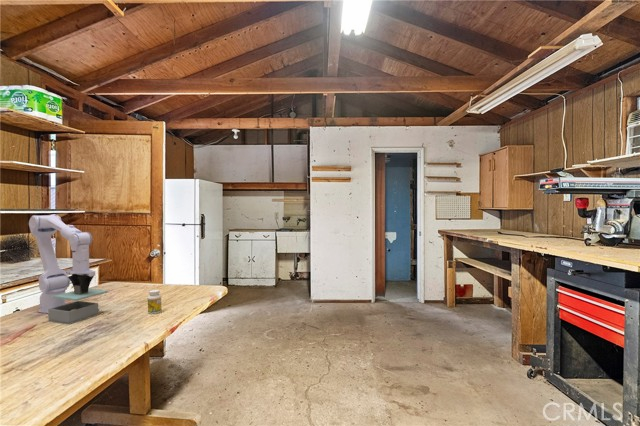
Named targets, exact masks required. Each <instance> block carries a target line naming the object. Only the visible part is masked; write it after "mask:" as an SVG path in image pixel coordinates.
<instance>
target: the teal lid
mask: <svg viewBox="0 0 640 426" xmlns="http://www.w3.org/2000/svg"><path fill="white" fill-rule="evenodd" d="M73 290H74V291H69V292H65V293H64V294H60V295H55V296H53V298H57V299H65V300H67V301H72V302H76V301H82V300H86V299H88V298H91V297H96V296H100V295H102V294H107V293H109V290H105V289H97V288H90V287H89V288H88V292H84V293H82V292H81V285H80V284H79V285H75V286H74V287H73Z"/></svg>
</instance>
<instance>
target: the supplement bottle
mask: <svg viewBox="0 0 640 426" xmlns="http://www.w3.org/2000/svg"><path fill="white" fill-rule="evenodd" d="M148 294H149V295H148V297H147V313H148V314H149V315H155V314H160V313H161V312H162V295H161V294H160V289H152V290H149V292H148Z"/></svg>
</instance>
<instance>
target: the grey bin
mask: <svg viewBox="0 0 640 426" xmlns="http://www.w3.org/2000/svg"><path fill="white" fill-rule="evenodd" d="M72 309H76V310H73V311H71V310H72ZM47 315H48V322H52V323H58V324H64V325H71V324H74V323H78V322H81V321H83V320H87V319H90V318H92V317H95V316H98V315H99V302H91V301H83V300H78V301H72V302H70V303H66V304H65V305H62V306H58V307H54V308H51V309H48V313H47Z"/></svg>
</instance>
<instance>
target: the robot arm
mask: <svg viewBox="0 0 640 426" xmlns="http://www.w3.org/2000/svg"><path fill="white" fill-rule="evenodd" d="M28 226H29V230H30V234H31V236H33V237H35V242H36V245H37V246H36V247H37V250H38V253H39V256H40V260H41V264H42V267H43V271H44V272H43V273H42V274H41V275H40V276H39V277H38V288H39V290H40V292H41V295H40V296H39V310H37V313H42V314H48V309H51V308H54V307H58V306H62V305H65V304H67V303H66V300H65V299H57V298H53V296H55V295H60V294H64V293H66V290H68V288H69V287H70V286H71V284H72V286H73V288H74V286H75V285H79V284H80V285H81V292H82V293H84V292H88V288H89V289H90V285H91V282H92V280H93V279H94V277H95V276H96V271H95V270H91V269H90V245H91V244H92V242H93V236H92V234H91V233H90V232H89V231H85V232H84V231H82V230H80V229H78V228H76V227H75V225H73V224H68V225H67V224H65V223H64V221H62V218H61V216H59V215H57V214H52V215H51V214H50V215H49V214H48V215H32V216H31V217H30V219H29V220H28ZM57 231H58V232H59V233H60V236H61V237H62V238H64V239H66V241H68V244H69V246H70V251H72V252H71V254H72V257H71V258H72V268H71V269H66V270H64V269H62V268H60V267H59V263H58V260H57V256H56V252H55V249H54V245H53V242H52V238H51V237H52V235H54V234H56V233H57Z"/></svg>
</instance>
